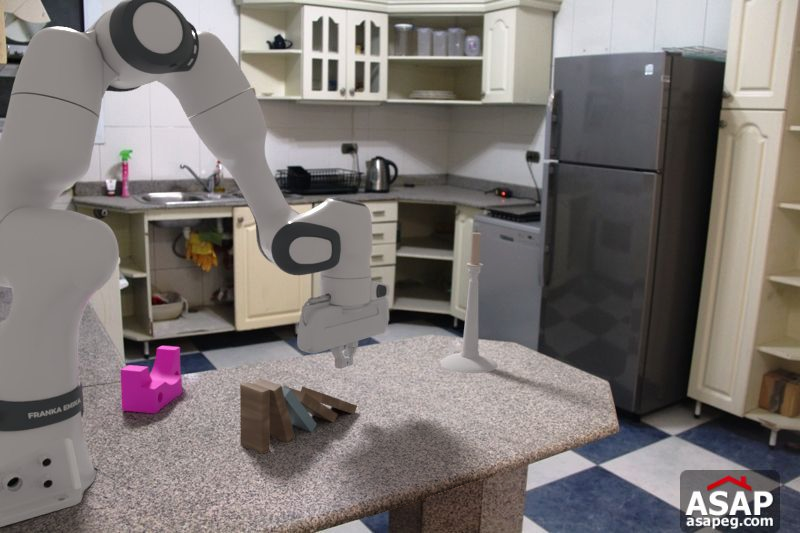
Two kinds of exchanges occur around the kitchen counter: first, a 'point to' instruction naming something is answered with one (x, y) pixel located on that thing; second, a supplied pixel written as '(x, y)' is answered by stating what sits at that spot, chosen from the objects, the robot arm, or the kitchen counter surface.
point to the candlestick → (471, 324)
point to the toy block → (152, 382)
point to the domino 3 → (298, 411)
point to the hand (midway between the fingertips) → (343, 366)
